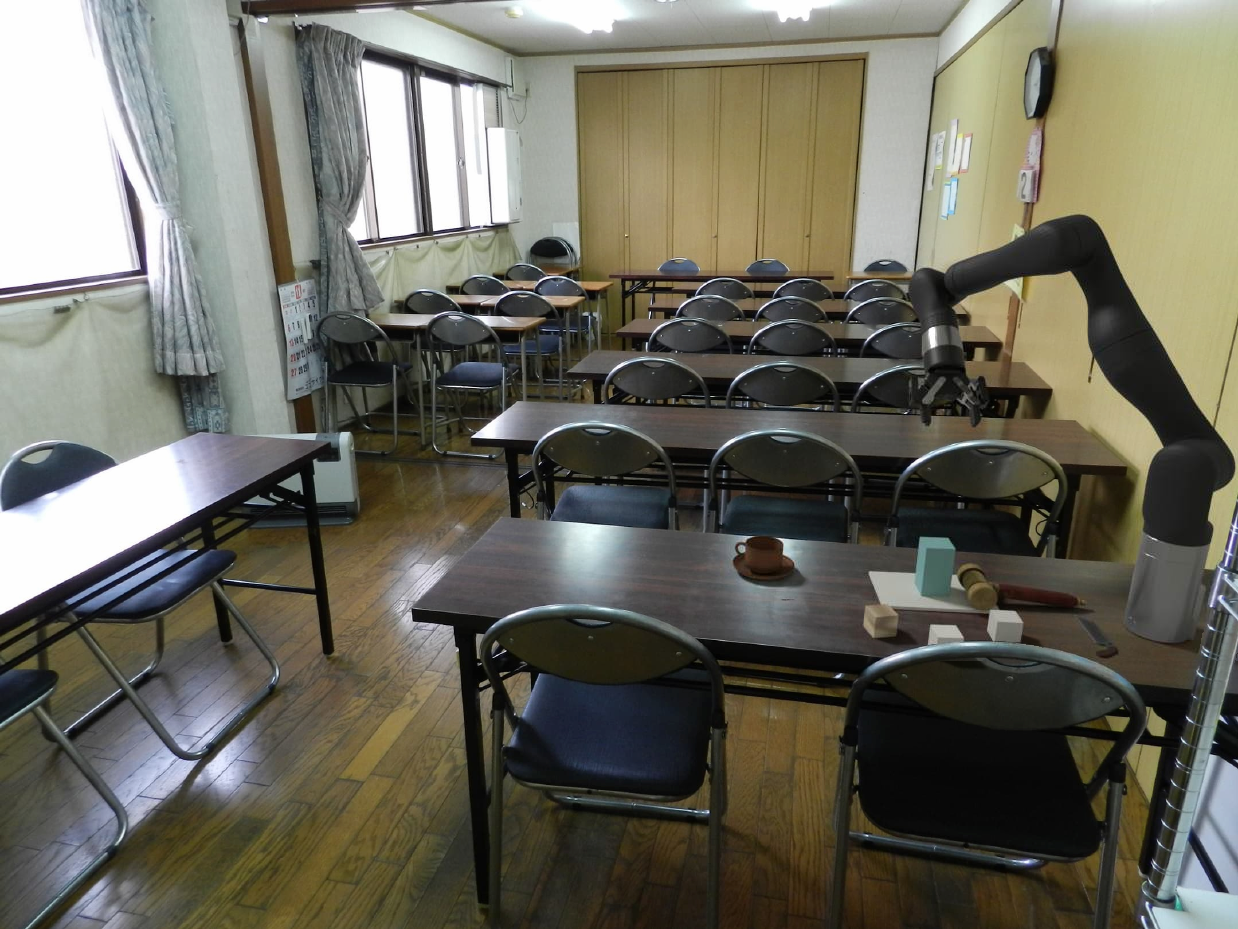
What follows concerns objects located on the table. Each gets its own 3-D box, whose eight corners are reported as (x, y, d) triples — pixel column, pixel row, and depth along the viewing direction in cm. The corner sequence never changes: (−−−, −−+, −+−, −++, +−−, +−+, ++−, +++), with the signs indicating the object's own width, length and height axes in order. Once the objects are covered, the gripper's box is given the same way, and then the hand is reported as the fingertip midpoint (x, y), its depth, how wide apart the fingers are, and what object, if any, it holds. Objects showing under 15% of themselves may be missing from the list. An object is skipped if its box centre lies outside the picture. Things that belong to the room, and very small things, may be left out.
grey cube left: (1011, 632, 135) (1015, 611, 134) (1019, 644, 131) (1023, 623, 130) (987, 630, 135) (990, 609, 134) (994, 643, 132) (997, 621, 130)
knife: (1124, 661, 127) (1125, 657, 126) (1097, 659, 127) (1098, 655, 127) (1089, 617, 140) (1090, 614, 139) (1065, 615, 140) (1065, 612, 140)
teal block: (942, 584, 150) (947, 537, 147) (949, 597, 145) (955, 549, 142) (914, 583, 151) (919, 537, 148) (920, 595, 146) (926, 548, 143)
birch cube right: (885, 624, 138) (887, 603, 136) (896, 636, 134) (898, 615, 133) (863, 626, 137) (865, 605, 136) (873, 638, 133) (875, 617, 132)
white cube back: (952, 647, 131) (955, 625, 129) (960, 660, 127) (964, 638, 126) (927, 646, 131) (930, 624, 130) (935, 659, 127) (937, 637, 126)
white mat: (975, 578, 154) (976, 575, 153) (999, 614, 140) (1000, 611, 140) (868, 574, 156) (869, 571, 156) (882, 608, 143) (883, 605, 143)
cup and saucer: (729, 582, 154) (730, 552, 152) (735, 556, 165) (736, 528, 163) (792, 588, 151) (794, 558, 149) (795, 561, 162) (796, 533, 160)
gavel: (1079, 579, 146) (1101, 605, 136) (1072, 601, 147) (1093, 628, 138) (959, 561, 148) (973, 585, 139) (954, 583, 150) (967, 608, 140)
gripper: (910, 342, 156) (917, 414, 149) (986, 343, 155) (997, 415, 148) (901, 364, 163) (908, 433, 156) (974, 365, 161) (984, 435, 154)
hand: (951, 424), depth 152 cm, fingers open, 8 cm apart
